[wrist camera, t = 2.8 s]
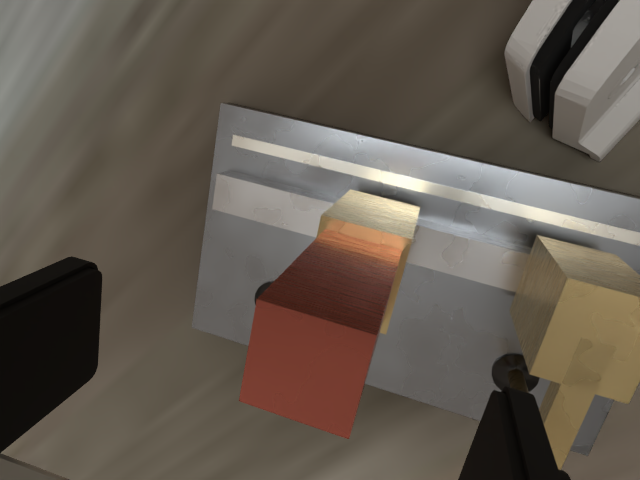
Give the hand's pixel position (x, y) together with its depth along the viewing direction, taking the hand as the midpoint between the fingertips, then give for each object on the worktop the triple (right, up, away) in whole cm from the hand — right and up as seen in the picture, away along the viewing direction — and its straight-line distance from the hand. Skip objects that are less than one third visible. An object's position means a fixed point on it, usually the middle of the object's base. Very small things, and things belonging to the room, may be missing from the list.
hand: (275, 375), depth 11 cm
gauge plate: (+6, +1, +16) cm, 17 cm away
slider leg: (+4, +2, +15) cm, 15 cm away
